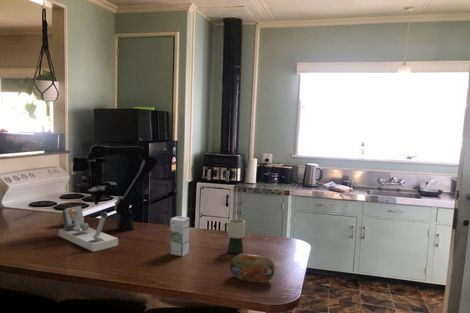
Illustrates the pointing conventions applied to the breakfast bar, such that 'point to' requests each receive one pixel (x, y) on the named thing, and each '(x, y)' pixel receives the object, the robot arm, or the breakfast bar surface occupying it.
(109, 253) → the breakfast bar surface
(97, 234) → the lever
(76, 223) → the copper ball joystick
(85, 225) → the push button
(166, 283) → the breakfast bar surface
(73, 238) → the control panel
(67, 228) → the block
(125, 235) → the breakfast bar surface
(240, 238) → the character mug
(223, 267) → the breakfast bar surface
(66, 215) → the electrical switch
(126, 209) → the robot arm
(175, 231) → the syrup box
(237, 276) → the tin
